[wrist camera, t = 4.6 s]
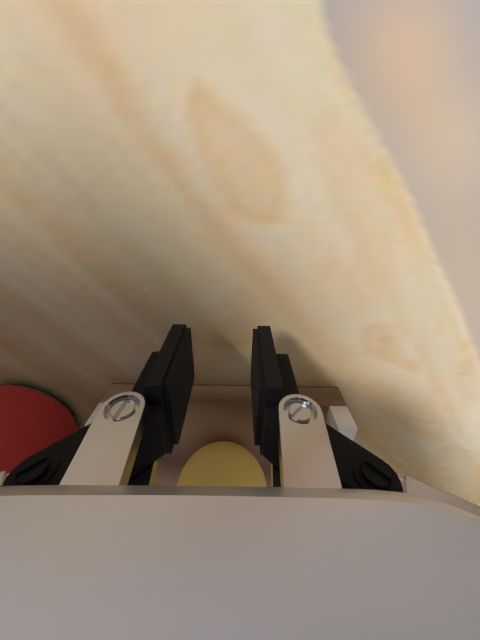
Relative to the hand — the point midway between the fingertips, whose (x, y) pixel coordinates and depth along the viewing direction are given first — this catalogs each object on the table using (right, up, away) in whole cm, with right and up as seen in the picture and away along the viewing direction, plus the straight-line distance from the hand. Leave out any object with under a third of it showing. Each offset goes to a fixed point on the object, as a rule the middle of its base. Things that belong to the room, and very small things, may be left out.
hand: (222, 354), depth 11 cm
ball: (0, -8, +2) cm, 8 cm away
